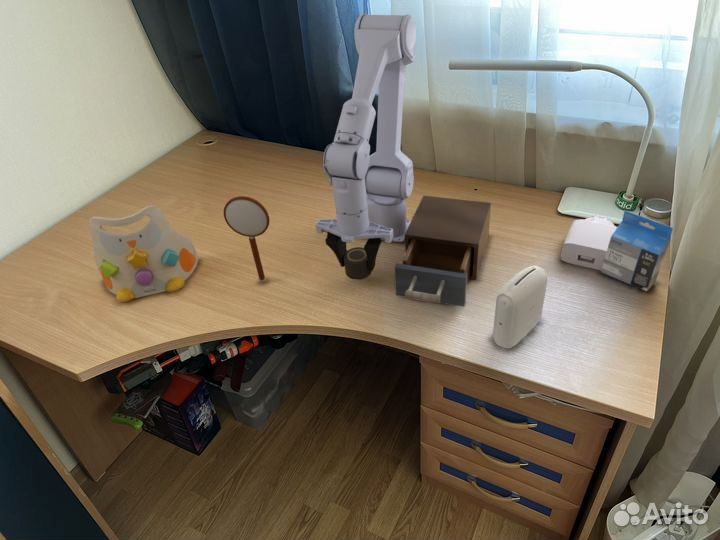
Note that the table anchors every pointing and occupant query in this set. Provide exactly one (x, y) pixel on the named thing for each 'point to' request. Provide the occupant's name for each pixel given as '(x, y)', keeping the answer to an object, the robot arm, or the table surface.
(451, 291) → the drawer
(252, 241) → the magnifying glass
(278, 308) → the table surface
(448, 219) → the cabinet
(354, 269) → the cylinder
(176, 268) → the shape sorter
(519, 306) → the photo printer
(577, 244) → the charger
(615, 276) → the label tape box
